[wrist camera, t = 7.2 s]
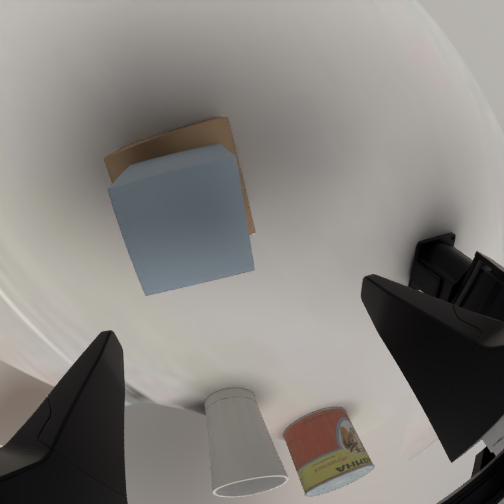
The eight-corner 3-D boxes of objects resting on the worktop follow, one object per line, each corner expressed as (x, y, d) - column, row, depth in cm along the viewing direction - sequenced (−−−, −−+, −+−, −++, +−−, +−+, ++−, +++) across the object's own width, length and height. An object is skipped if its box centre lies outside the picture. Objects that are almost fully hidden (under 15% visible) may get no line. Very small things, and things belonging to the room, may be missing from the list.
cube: (220, 143, 15) (236, 157, 10) (235, 226, 17) (254, 270, 13) (130, 165, 14) (107, 189, 10) (153, 246, 16) (145, 295, 12)
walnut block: (218, 116, 18) (227, 117, 14) (241, 208, 21) (255, 232, 18) (120, 148, 17) (103, 158, 13) (152, 236, 21) (146, 266, 17)
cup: (205, 421, 33) (220, 500, 23) (190, 391, 30) (204, 486, 19) (263, 410, 35) (288, 486, 24) (258, 377, 31) (289, 469, 20)
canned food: (357, 408, 42) (386, 461, 32) (313, 441, 45) (335, 491, 35) (316, 403, 37) (347, 470, 27) (269, 439, 40) (289, 499, 30)
